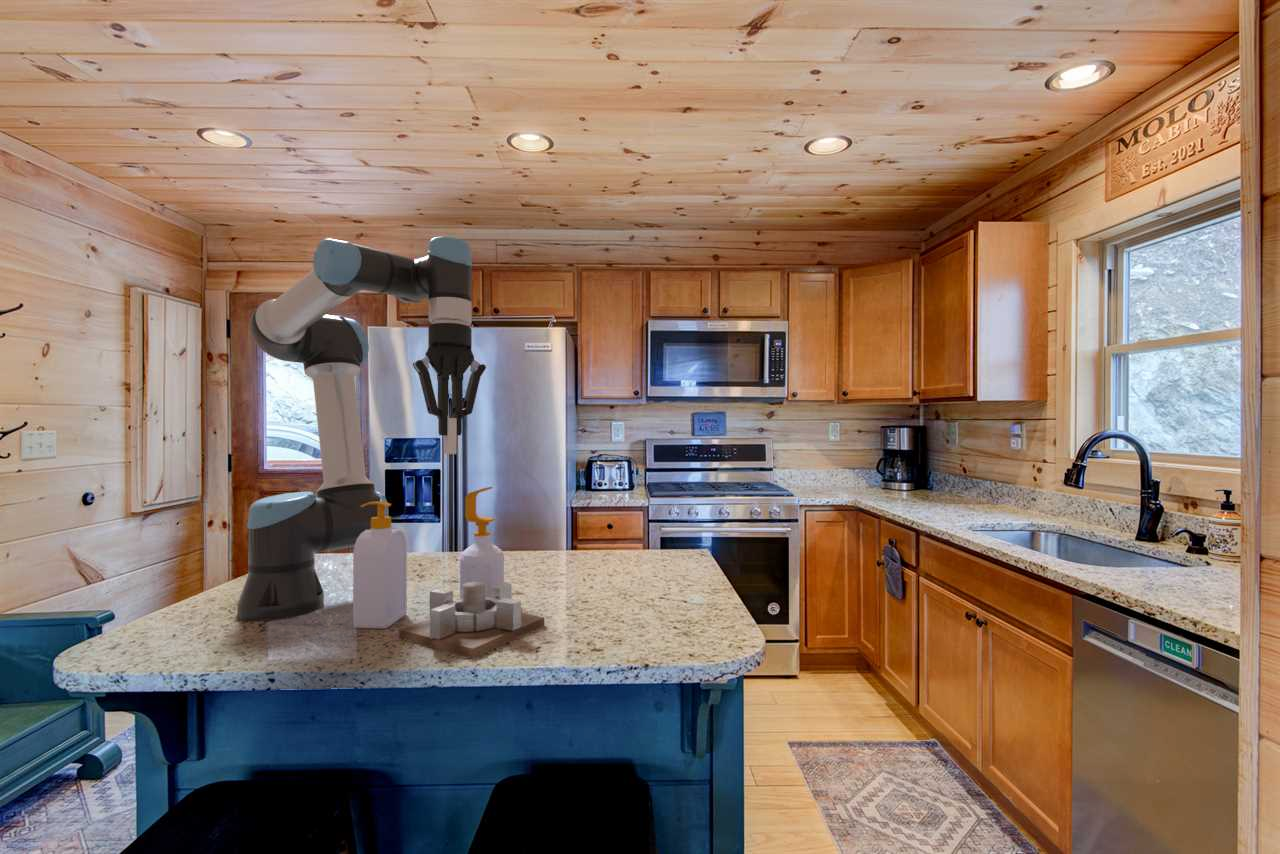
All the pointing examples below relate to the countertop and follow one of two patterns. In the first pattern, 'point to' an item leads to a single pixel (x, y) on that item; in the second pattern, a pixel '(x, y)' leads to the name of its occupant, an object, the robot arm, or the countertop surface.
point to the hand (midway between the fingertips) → (450, 453)
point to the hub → (476, 640)
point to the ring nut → (451, 618)
